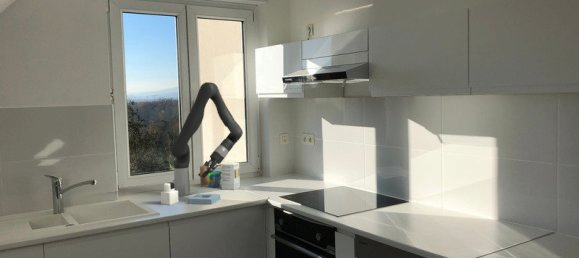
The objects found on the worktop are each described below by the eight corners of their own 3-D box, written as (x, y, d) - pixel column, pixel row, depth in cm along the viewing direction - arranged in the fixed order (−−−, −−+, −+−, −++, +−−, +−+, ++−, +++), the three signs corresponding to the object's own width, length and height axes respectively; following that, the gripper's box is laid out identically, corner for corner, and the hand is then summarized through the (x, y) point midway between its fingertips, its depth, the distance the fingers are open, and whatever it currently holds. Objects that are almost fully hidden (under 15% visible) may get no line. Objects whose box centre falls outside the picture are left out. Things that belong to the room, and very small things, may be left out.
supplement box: (234, 190, 321) (233, 164, 319) (221, 189, 323) (220, 164, 322) (240, 187, 330) (239, 162, 328) (227, 186, 333) (227, 162, 331)
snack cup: (214, 183, 344) (214, 169, 343) (227, 185, 339) (226, 170, 338) (200, 188, 330) (200, 173, 330) (213, 189, 325) (212, 174, 325)
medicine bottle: (169, 201, 292) (168, 181, 291) (178, 202, 288) (177, 182, 287) (160, 203, 286) (160, 183, 285) (169, 205, 282) (169, 184, 281)
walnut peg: (199, 185, 287) (198, 166, 286) (202, 184, 291) (201, 165, 290) (206, 185, 286) (205, 166, 285) (209, 184, 290) (209, 165, 289)
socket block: (188, 203, 284) (188, 198, 284) (198, 198, 298) (198, 193, 297) (211, 204, 281) (211, 199, 281) (220, 199, 294) (220, 194, 294)
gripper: (210, 149, 297) (192, 171, 291) (219, 151, 285) (201, 174, 279) (218, 157, 300) (201, 179, 295) (228, 159, 288) (210, 182, 283)
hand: (201, 176), depth 287 cm, fingers closed on walnut peg, 4 cm apart
